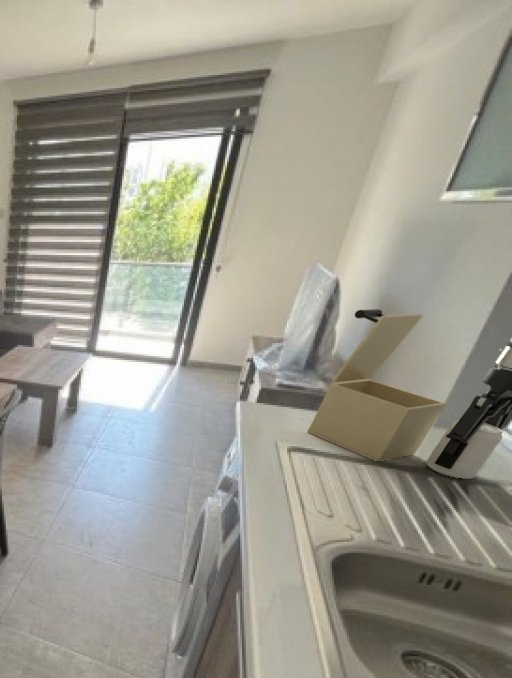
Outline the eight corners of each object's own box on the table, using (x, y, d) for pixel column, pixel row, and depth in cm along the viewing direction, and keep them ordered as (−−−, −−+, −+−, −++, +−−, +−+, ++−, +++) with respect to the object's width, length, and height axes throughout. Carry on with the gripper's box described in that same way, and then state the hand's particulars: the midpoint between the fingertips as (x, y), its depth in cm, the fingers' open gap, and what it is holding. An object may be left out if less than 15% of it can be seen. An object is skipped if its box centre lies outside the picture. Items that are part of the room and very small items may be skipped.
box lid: (423, 315, 114) (390, 301, 120) (385, 317, 109) (352, 302, 115) (370, 378, 125) (342, 363, 131) (333, 382, 120) (306, 366, 126)
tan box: (414, 454, 119) (447, 403, 112) (377, 462, 114) (409, 409, 107) (342, 426, 132) (368, 379, 126) (307, 431, 128) (331, 383, 121)
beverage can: (475, 475, 111) (509, 429, 105) (467, 484, 107) (502, 437, 101) (429, 459, 117) (458, 415, 111) (420, 468, 112) (450, 422, 107)
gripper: (520, 361, 106) (458, 450, 117) (467, 367, 99) (406, 461, 110) (570, 372, 100) (499, 465, 111) (516, 379, 93) (447, 478, 104)
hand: (453, 463), depth 111 cm, fingers closed on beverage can, 8 cm apart
